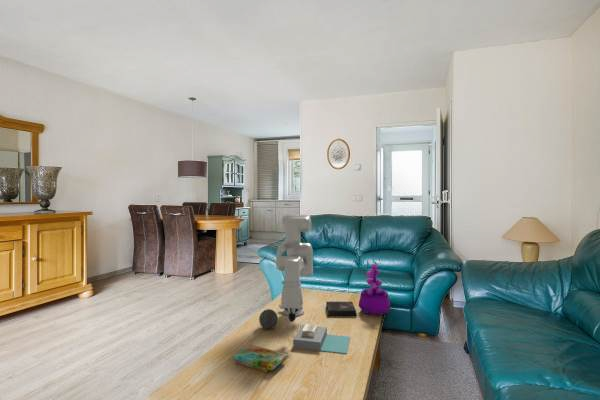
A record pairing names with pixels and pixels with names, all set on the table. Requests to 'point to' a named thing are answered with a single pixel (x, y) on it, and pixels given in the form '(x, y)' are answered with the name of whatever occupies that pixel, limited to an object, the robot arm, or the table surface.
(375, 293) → the decorative plant
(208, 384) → the table surface
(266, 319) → the decorative ball
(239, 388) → the table surface
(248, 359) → the puzzle game
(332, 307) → the portable cd player
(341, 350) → the mat
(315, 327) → the tile
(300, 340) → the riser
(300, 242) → the robot arm
